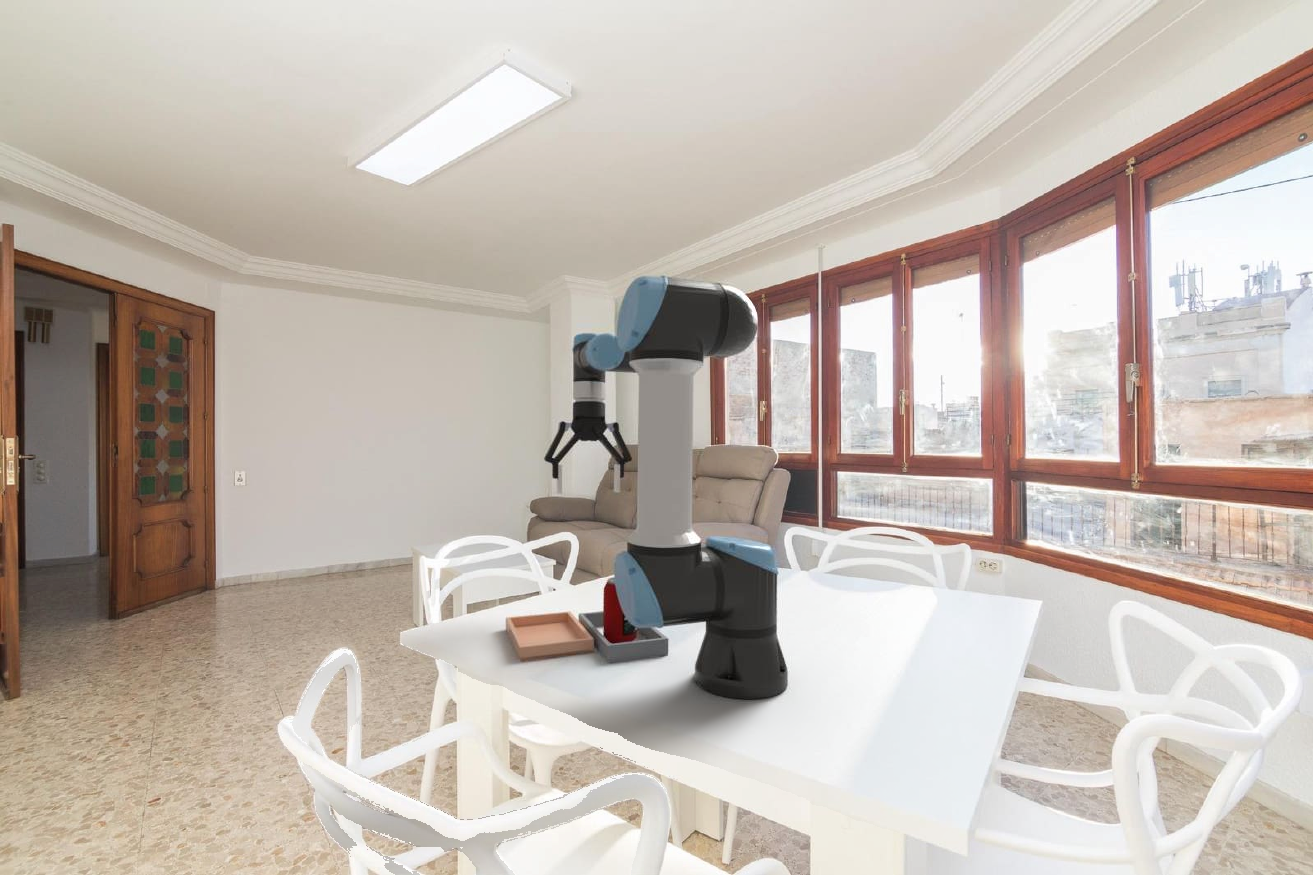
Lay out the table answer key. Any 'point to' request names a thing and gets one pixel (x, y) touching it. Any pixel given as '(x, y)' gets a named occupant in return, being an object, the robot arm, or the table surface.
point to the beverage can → (615, 617)
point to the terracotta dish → (548, 636)
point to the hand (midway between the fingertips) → (588, 492)
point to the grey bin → (627, 650)
